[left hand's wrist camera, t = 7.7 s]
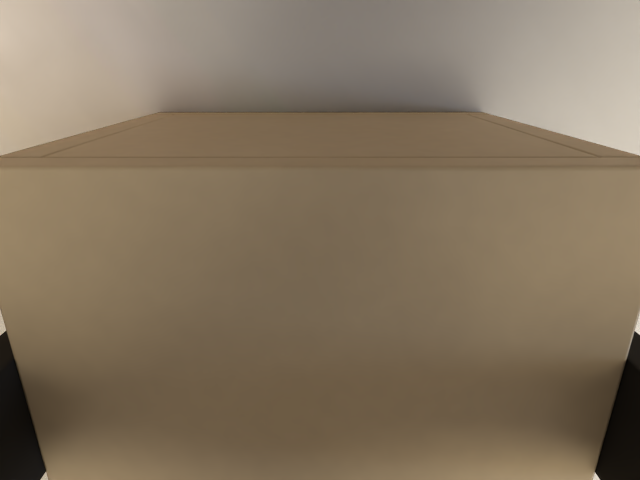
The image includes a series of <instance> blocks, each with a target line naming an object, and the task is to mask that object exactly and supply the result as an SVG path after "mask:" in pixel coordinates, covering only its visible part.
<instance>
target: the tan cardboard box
mask: <svg viewBox="0 0 640 480" xmlns="http://www.w3.org/2000/svg"><path fill="white" fill-rule="evenodd" d="M0 309H1V313H2V316H3V320H4V323H5V327H6V330H7V334H8V337H9V341H10V344H11V348H12V352H13V355H14V359H15V362H16V366H17V369H18V373H19V376H20V380H21V384H22V387H23V391H24V394H25V398H26V401H27V405H28V408H29V412H30V415H31V419H32V423H33V426H34V430H35V433H36V437H37V440H38V444H39V447H40V451H41V455H42V458H43V462H44V465H45V469H46V472H47V476H48V479H49V480H593V477H594V473H595V470H596V466H597V463H598V459H599V456H600V452H601V448H602V445H603V441H604V438H605V434H606V431H607V427H608V424H609V420H610V416H611V413H612V409H613V406H614V402H615V399H616V395H617V392H618V388H619V384H620V381H621V377H622V374H623V370H624V367H625V363H626V360H627V356H628V352H629V349H630V345H631V342H632V338H633V335H634V331H635V328H636V324H637V320H638V317H639V313H640V156H639V155H635V154H632V153H628V152H624V151H621V150H617V149H614V148H610V147H606V146H603V145H599V144H595V143H592V142H588V141H585V140H581V139H577V138H574V137H570V136H567V135H563V134H559V133H556V132H552V131H548V130H545V129H541V128H538V127H534V126H530V125H527V124H523V123H520V122H516V121H512V120H509V119H505V118H502V117H498V116H494V115H490V114H487V113H484V112H158V113H155V114H152V115H147V116H143V117H140V118H136V119H132V120H129V121H125V122H122V123H118V124H114V125H111V126H107V127H103V128H100V129H96V130H92V131H89V132H85V133H82V134H78V135H74V136H71V137H67V138H63V139H60V140H56V141H52V142H49V143H45V144H42V145H38V146H34V147H31V148H27V149H23V150H20V151H16V152H12V153H9V154H5V155H2V156H0Z"/></svg>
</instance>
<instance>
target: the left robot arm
mask: <svg viewBox="0 0 640 480" xmlns="http://www.w3.org/2000/svg"><path fill="white" fill-rule="evenodd" d="M45 472H46V469H45V465H44V462H43V458H42V455H41V451H40V447H39V444H38V440H37V437H36V433H35V430H34V426H33V423H32V419H31V415H30V412H29V408H28V405H27V401H26V398H25V394H24V391H23V387H22V384H21V380H20V376H19V373H18V369H17V366H16V362H15V359H14V355H13V352H12V348H11V344H10V341H9V337H8V334H7V331H5V332H4V333H3V334H2V335H1V336H0V480H40V479H41V478H42V476H43V475H44V473H45ZM595 473H596V474H597V475H598V477H599V478H600V480H640V335H639V334H638V333H636V332H635V331H634V335H633V338H632V342H631V345H630V349H629V352H628V356H627V360H626V363H625V367H624V370H623V374H622V377H621V381H620V384H619V388H618V392H617V395H616V399H615V402H614V406H613V409H612V413H611V416H610V420H609V424H608V427H607V431H606V434H605V438H604V441H603V445H602V448H601V452H600V456H599V459H598V463H597V466H596V470H595Z"/></svg>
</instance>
